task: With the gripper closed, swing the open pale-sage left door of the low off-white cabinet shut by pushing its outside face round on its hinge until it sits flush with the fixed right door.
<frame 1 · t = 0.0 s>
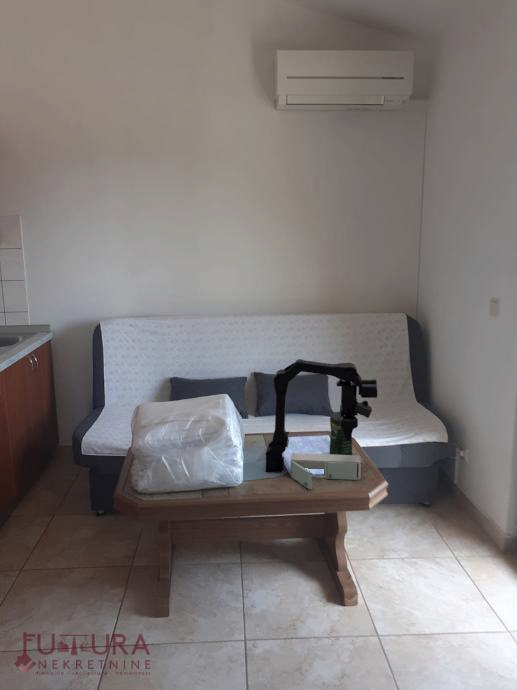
hand: (348, 436, 211), 15 cm above the table, fingers open, 9 cm apart
door: (299, 474, 205), point 4 cm above the table, hinge at -52.0°
cabinet: (325, 474, 213), on the table
coffee jar: (340, 457, 228), on the table
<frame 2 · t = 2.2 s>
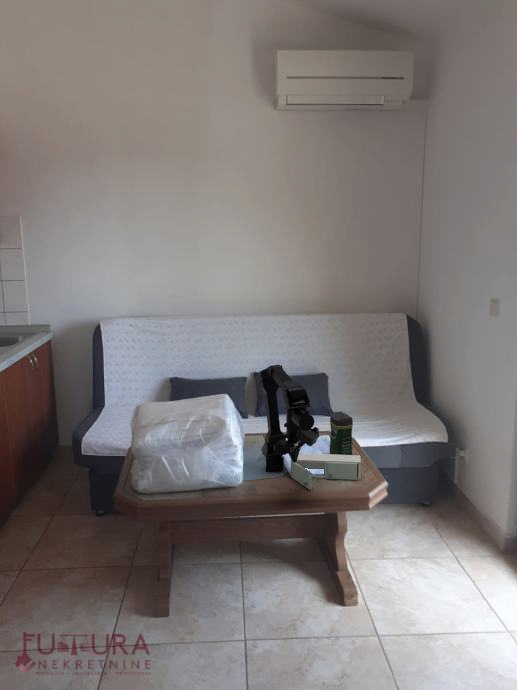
hand: (294, 462, 197), 11 cm above the table, fingers closed
nothing on the table moved.
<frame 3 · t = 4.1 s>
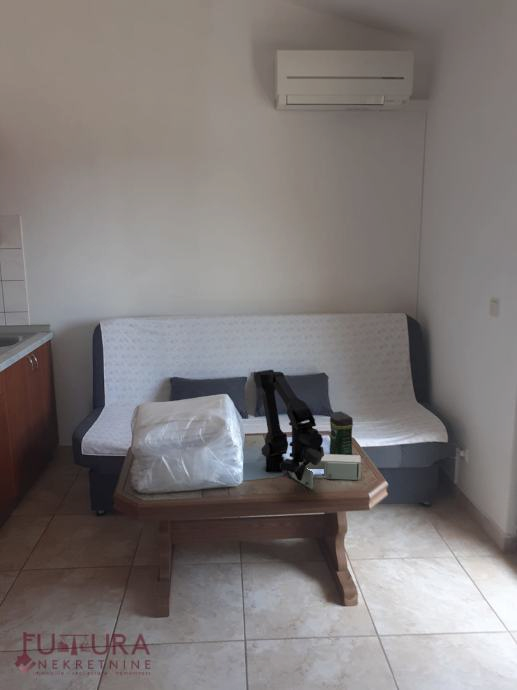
hand: (299, 480, 202), 3 cm above the table, fingers closed
door: (300, 474, 205), point 4 cm above the table, hinge at -48.3°, touching gripper
everything else where it was.
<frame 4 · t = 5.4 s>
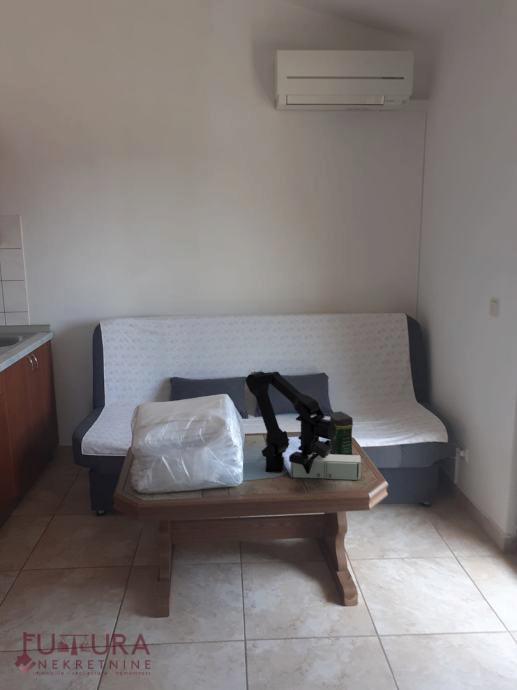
hand: (307, 473, 206), 3 cm above the table, fingers closed
door: (307, 469, 209), point 4 cm above the table, hinge at 0.8°, touching gripper
everything else where it was.
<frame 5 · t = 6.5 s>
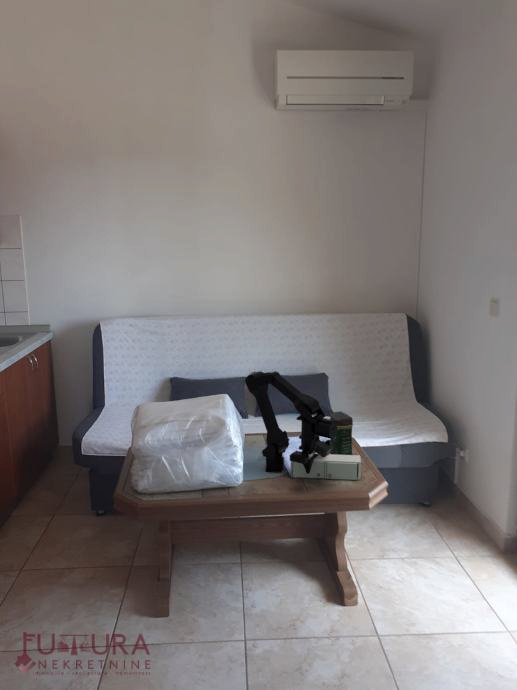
hand: (308, 473, 207), 3 cm above the table, fingers closed
door: (307, 469, 209), point 4 cm above the table, hinge at 1.2°, touching gripper
everything else where it was.
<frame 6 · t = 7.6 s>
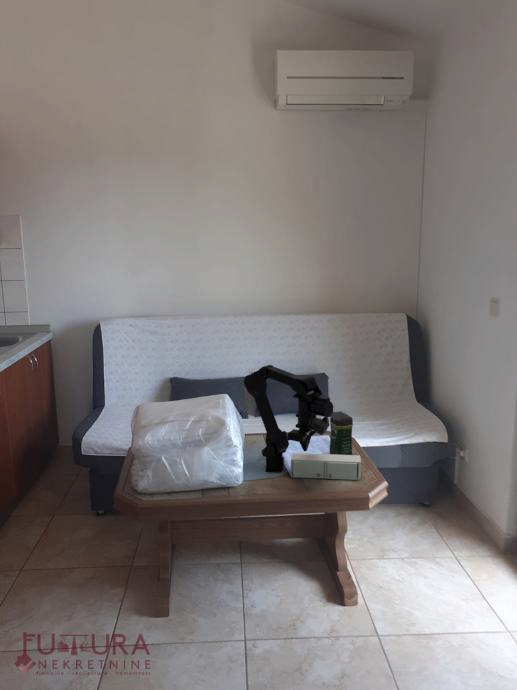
hand: (305, 450, 205), 12 cm above the table, fingers closed
door: (307, 469, 209), point 4 cm above the table, hinge at 0.6°
everything else where it was.
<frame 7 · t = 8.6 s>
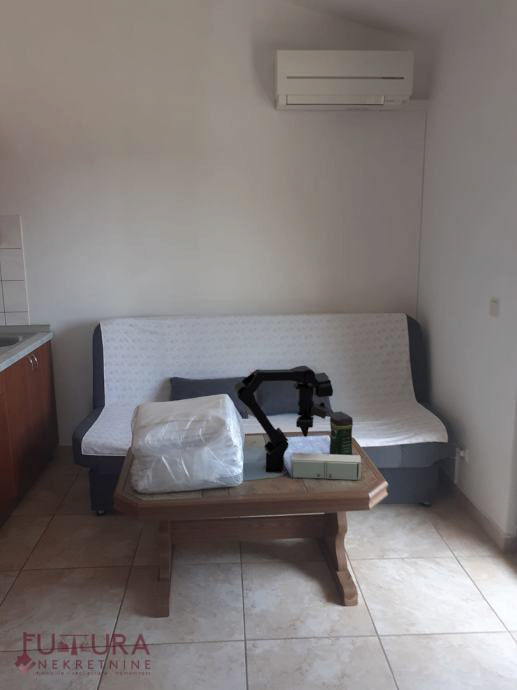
hand: (305, 436, 219), 12 cm above the table, fingers closed
nothing on the table moved.
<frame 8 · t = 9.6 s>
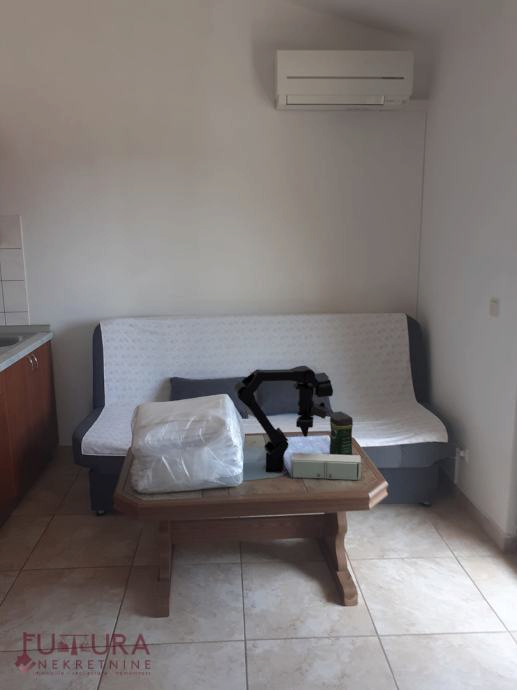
hand: (305, 436, 219), 12 cm above the table, fingers closed
nothing on the table moved.
at the end: door at +1° (first picture: -52°) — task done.
